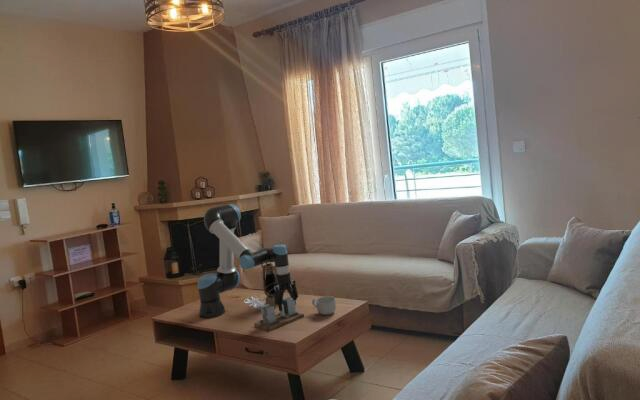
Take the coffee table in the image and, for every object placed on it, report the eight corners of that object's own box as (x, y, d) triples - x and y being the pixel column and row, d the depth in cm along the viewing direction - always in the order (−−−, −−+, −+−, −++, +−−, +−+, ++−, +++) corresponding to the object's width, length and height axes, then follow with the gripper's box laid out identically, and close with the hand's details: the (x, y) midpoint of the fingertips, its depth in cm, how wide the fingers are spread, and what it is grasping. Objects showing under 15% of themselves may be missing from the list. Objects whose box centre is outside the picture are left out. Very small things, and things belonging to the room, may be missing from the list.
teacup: (340, 311, 258) (339, 297, 257) (327, 318, 250) (325, 303, 249) (322, 308, 267) (320, 294, 266) (309, 314, 259) (307, 300, 259)
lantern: (259, 306, 285) (252, 257, 283) (273, 300, 294) (266, 253, 291) (275, 309, 276) (268, 259, 273) (289, 302, 284) (283, 254, 281)
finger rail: (254, 326, 251) (252, 307, 250) (288, 312, 267) (285, 294, 266) (270, 331, 241) (267, 311, 240) (304, 316, 256) (301, 298, 255)
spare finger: (288, 312, 262) (286, 296, 261) (295, 314, 257) (293, 298, 256) (282, 314, 259) (280, 299, 258) (289, 316, 254) (286, 300, 253)
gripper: (293, 267, 265) (298, 307, 267) (263, 277, 252) (269, 318, 254) (301, 269, 260) (306, 309, 262) (272, 278, 246) (278, 320, 248)
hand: (288, 313), depth 258 cm, fingers open, 7 cm apart
